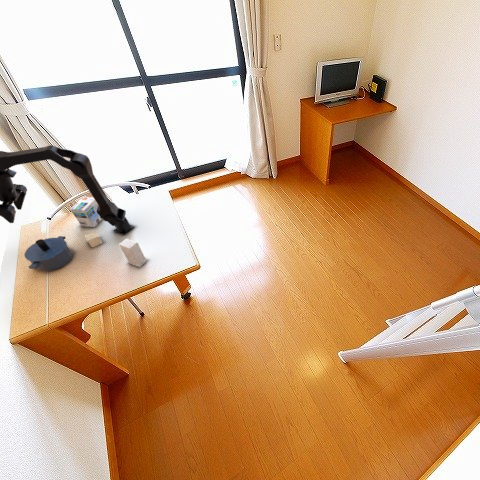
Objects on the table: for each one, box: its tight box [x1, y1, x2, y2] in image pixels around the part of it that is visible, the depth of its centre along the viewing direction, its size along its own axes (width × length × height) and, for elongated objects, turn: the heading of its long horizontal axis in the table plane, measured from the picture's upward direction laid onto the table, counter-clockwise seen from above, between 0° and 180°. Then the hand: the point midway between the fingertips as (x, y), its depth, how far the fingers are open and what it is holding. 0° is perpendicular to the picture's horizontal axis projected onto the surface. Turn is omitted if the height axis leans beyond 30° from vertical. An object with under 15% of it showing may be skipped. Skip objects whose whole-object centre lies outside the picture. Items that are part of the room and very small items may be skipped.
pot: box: [28, 235, 74, 272], centre depth 119 cm, size 13×18×6 cm
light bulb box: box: [69, 196, 103, 228], centre depth 137 cm, size 11×7×11 cm, turn 179°
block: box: [83, 231, 103, 248], centre depth 129 cm, size 4×4×4 cm
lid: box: [24, 237, 68, 262], centre depth 116 cm, size 14×14×6 cm
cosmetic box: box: [118, 238, 147, 268], centre depth 121 cm, size 6×4×12 cm
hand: (15, 215), depth 117 cm, fingers open, 9 cm apart
